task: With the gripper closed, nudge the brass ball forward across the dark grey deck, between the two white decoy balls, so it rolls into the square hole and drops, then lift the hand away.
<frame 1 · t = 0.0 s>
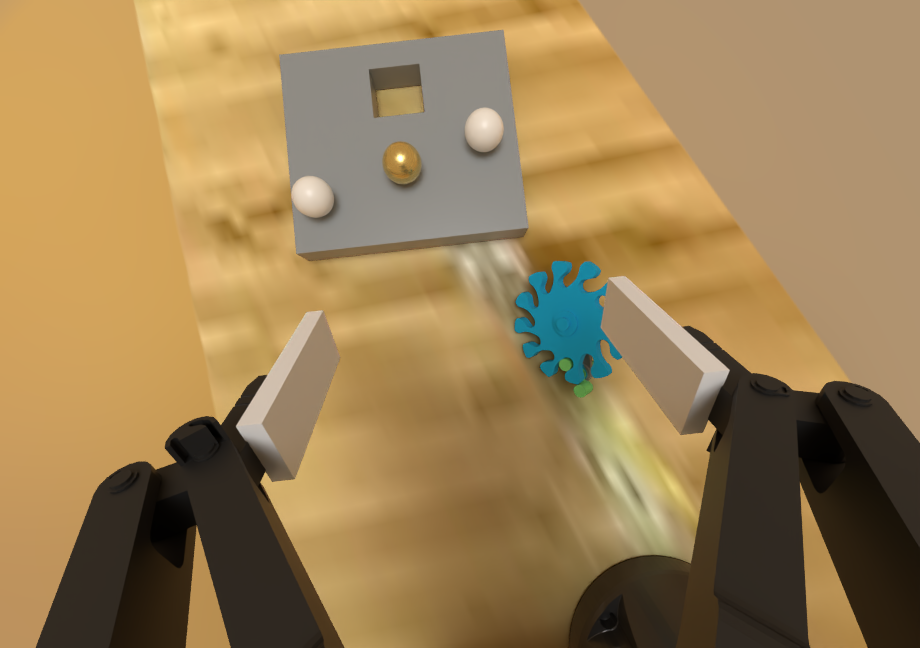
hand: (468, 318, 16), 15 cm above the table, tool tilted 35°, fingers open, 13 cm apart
ball: (402, 163, 28), point 4 cm above the table, touching deck
deck: (406, 155, 32), on the table
gear: (556, 330, 32), on the table
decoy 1: (484, 130, 28), point 4 cm above the table, touching deck
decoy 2: (313, 197, 28), point 4 cm above the table, touching deck
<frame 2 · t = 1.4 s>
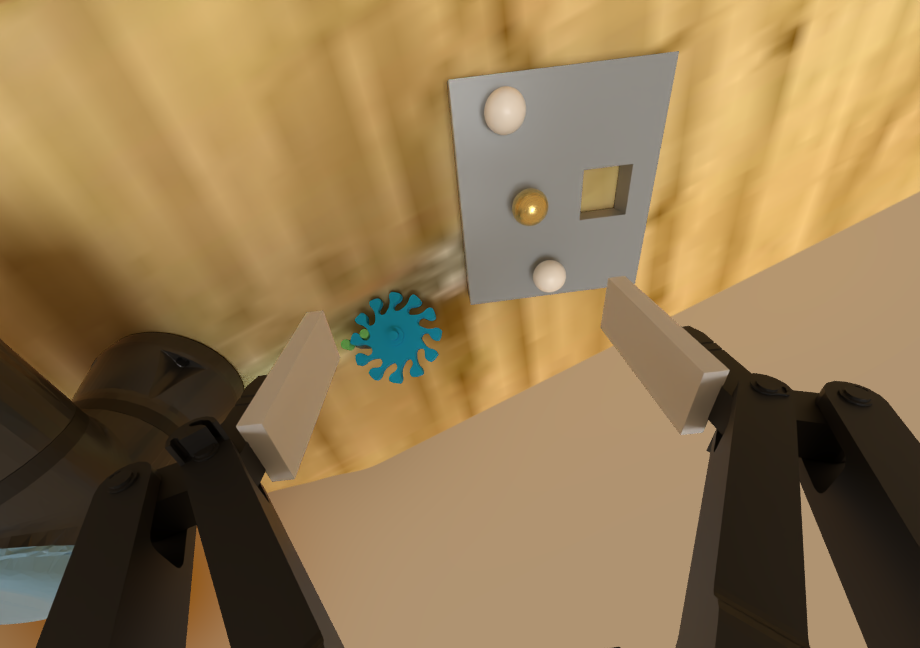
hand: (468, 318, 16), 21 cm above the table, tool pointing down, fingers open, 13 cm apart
ball: (529, 207, 30), point 4 cm above the table, touching deck
deck: (549, 193, 34), on the table
gear: (394, 319, 41), on the table
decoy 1: (549, 276, 34), point 4 cm above the table, touching deck
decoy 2: (504, 111, 26), point 4 cm above the table, touching deck
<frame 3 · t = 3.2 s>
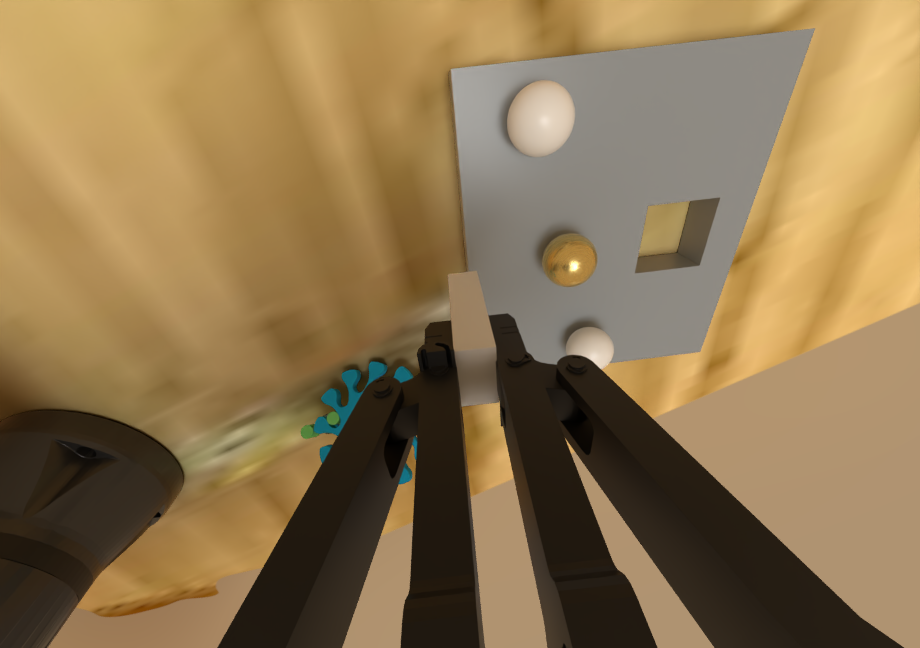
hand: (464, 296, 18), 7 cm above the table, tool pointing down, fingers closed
ball: (569, 260, 21), point 4 cm above the table, touching deck
deck: (591, 233, 24), on the table
gear: (376, 390, 31), on the table
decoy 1: (589, 349, 24), point 4 cm above the table, touching deck
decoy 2: (540, 120, 17), point 4 cm above the table, touching deck
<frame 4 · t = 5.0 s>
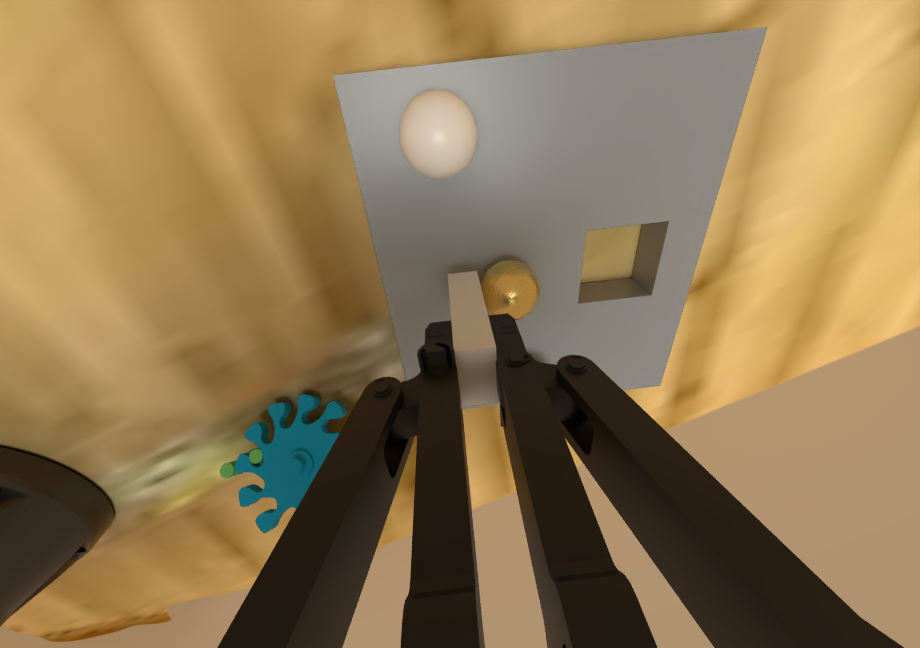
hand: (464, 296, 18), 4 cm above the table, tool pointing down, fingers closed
ball: (509, 291, 18), point 4 cm above the table, tilted 26°, touching deck
deck: (531, 257, 22), on the table
gear: (312, 422, 29), on the table
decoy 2: (438, 136, 14), point 4 cm above the table, touching deck
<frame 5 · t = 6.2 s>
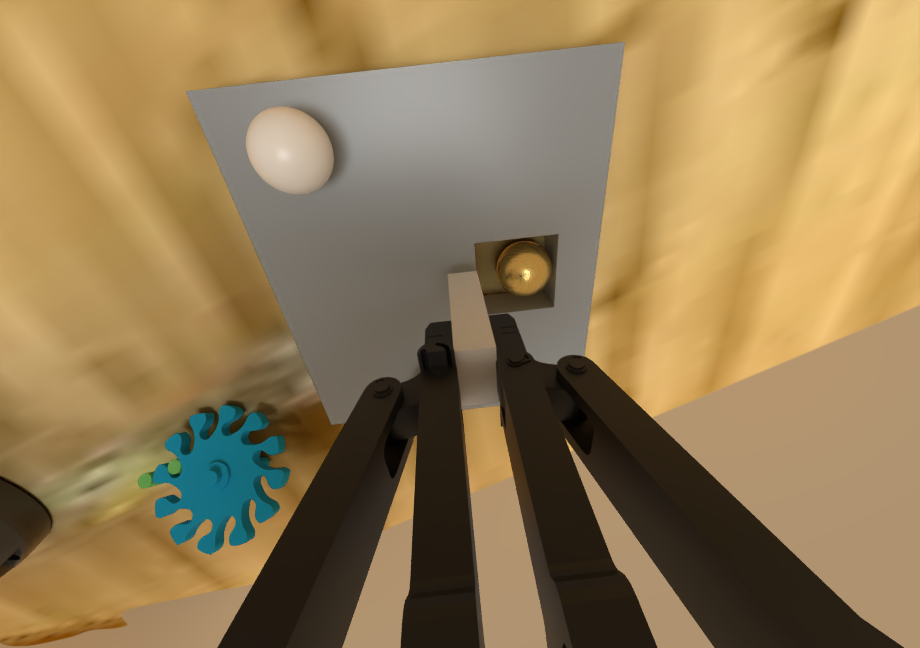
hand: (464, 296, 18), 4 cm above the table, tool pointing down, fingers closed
ball: (523, 268, 20), point 2 cm above the table, tilted 39°
deck: (437, 268, 21), on the table
gear: (240, 432, 29), on the table
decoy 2: (292, 152, 14), point 4 cm above the table, touching deck
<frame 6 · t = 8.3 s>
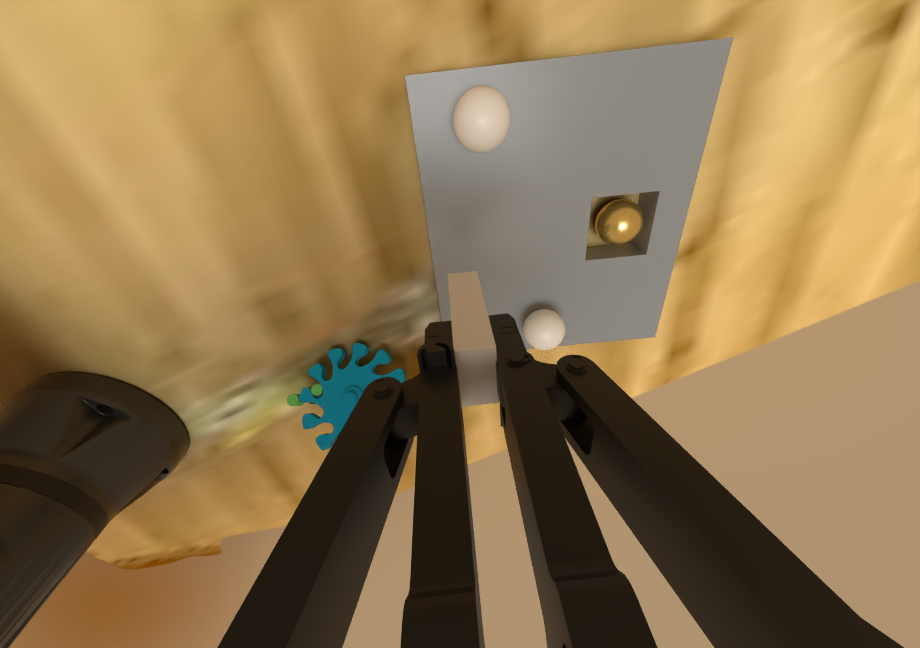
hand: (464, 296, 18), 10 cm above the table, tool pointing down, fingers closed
ball: (618, 222, 25), point 2 cm above the table, tilted 52°
deck: (547, 223, 26), on the table
gear: (358, 370, 34), on the table
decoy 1: (543, 329, 27), point 4 cm above the table, touching deck
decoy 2: (481, 120, 19), point 4 cm above the table, touching deck
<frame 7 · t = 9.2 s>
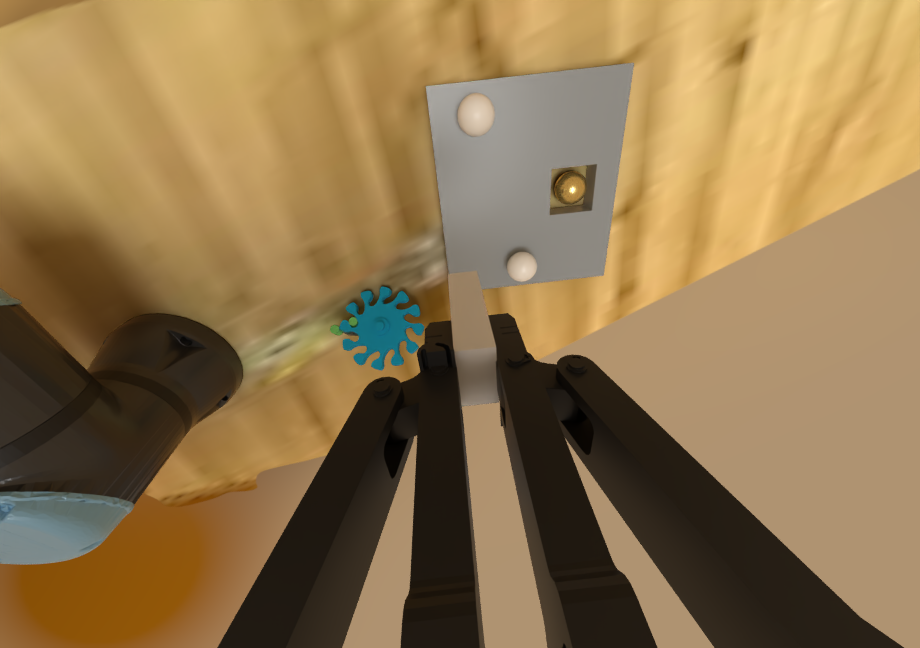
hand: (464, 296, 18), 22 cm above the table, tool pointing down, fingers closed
ball: (570, 188, 36), point 2 cm above the table, tilted 58°
deck: (523, 190, 37), on the table
gear: (382, 311, 44), on the table
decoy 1: (521, 266, 37), point 4 cm above the table, touching deck
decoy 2: (476, 115, 29), point 4 cm above the table, touching deck
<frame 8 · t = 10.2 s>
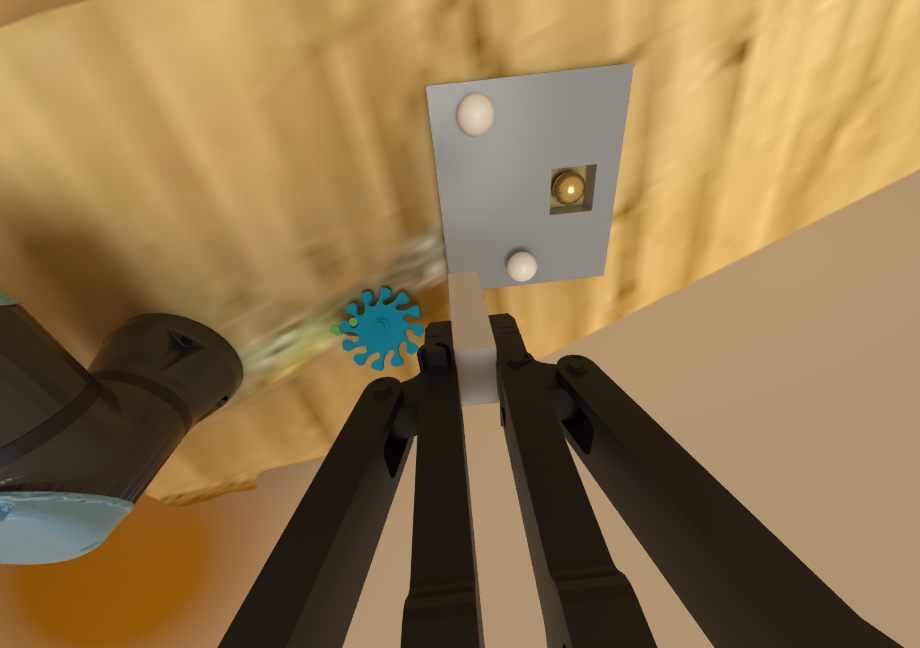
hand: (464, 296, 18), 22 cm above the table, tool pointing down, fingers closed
ball: (568, 188, 36), point 2 cm above the table, tilted 64°
deck: (523, 190, 37), on the table
gear: (381, 311, 44), on the table
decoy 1: (521, 266, 37), point 4 cm above the table, touching deck
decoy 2: (476, 115, 29), point 4 cm above the table, touching deck
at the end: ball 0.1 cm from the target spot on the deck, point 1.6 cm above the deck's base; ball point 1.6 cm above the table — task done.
